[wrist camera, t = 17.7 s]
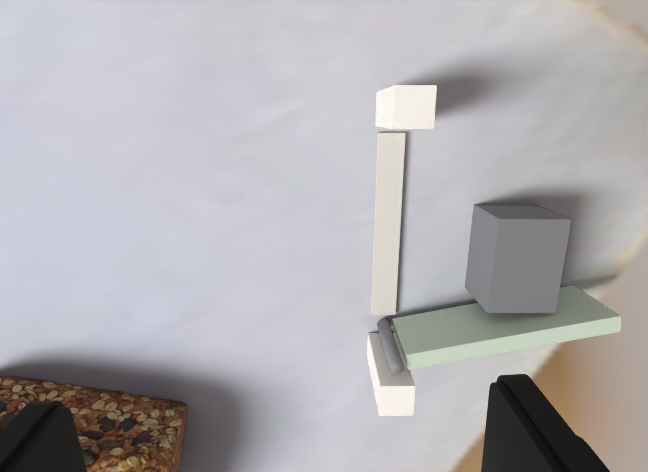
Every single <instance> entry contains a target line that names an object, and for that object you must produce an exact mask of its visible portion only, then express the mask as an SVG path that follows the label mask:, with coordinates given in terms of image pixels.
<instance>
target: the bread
mask: <svg viewBox="0 0 648 472" xmlns="http://www.w3.org/2000/svg"><path fill="white" fill-rule="evenodd" d="M54 400H58V401H61V402H62V403H63V405H64V407H68V408H69V409H70V410H71V412H72V416H73V420H74V424H75V427H76V431H77V435H78V439H79V442H80V446H81V450H82V454H83V457H84V461H85V465H86V469H87V472H179V467H180V462H181V454H182V446H183V438H184V433H185V425H186V416H187V405H185V404H183V403H182V402H178V401H173V400H167V401H165V400H161V399H155V398H149V397H147V396H142V395H138V396H133V395H131V394H127V393H124V392H119V391H115V392H109V391H108V390H99V389H95V388H87V387H85V386H73V385H70V384H62V385H59V386H58V385H56V384H54V383H53V382H49V381H40V380H34V379H27V378H16V377H2V378H0V433H1V432H2V430H3V429H4V428H5V427H6V426H7V425H8V424H9V423H10V422H11V421H12V419H13V418H14V417H15V416H16V415H17V414H18V413H19V412H20V411H21V410H22V408H23V407H24V406H25V405H27V404H28V403H30V402H37V401H54Z"/></svg>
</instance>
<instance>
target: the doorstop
mask: <svg viewBox="0 0 648 472" xmlns="http://www.w3.org/2000/svg"><path fill="white" fill-rule="evenodd" d="M571 221H572V219H569V218H567V217H565V216H562V215H560V214H557V213H555V212H552V211H550V210H547V209H545V208H543V207H540V206H538V205H474V208H473V217H472V227H471V236H470V245H469V254H468V264H467V273H466V282H465V288H466V289H467V290H468V291H469V292H470V293H471V295H472V296H473V297H474V298H475V299H476V300H477V302H478V303H479V304H480V305H481V306H482V307H483V309H484V310H485V311H486V312H487V313H556V308H557V302H558V296H559V290H560V285H561V279H562V273H563V267H564V261H565V256H566V250H567V244H568V238H569V232H570V227H571Z"/></svg>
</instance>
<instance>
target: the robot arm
mask: <svg viewBox="0 0 648 472" xmlns="http://www.w3.org/2000/svg"><path fill="white" fill-rule="evenodd" d="M0 472H87V469H86V465H85V461H84V457H83V454H82V450H81V446H80V442H79V439H78V435H77V431H76V427H75V424H74V420H73V416H72V412H71V410H70V409H69V408H68V407H64V405H63V403H62V402H61V401H58V400H54V401H37V402H30V403H28V404H27V405H25V406H24V407H23V408H22V410H21V411H20V412H19V413H18V414H17V415H16V416H15V417H14V418H13V419H12V421H11V422H10V423H9V424H8V425H7V426H6V427H5V428H4V429H3V430H2V432H1V433H0ZM481 472H610V471H609V470H608V468H607V467H606V466H605V465H604V464H603V462H602V461H601V460H600V459H599V457H598V456H597V455H596V454H595V452H594V451H593V450H592V449H591V448H590V446H589V445H588V444H587V443H586V442H585V441H584V440H583V439H582V438H581V437H579V436H577V435H575V433H574V432H573V431H572V430H571V428H570V427H569V426H568V425H567V423H566V422H565V421H564V420H563V418H562V417H561V416H560V415H559V413H558V412H557V411H556V410H555V408H554V407H553V406H552V405H551V403H550V402H549V401H548V400H547V398H546V397H545V396H544V395H543V393H542V392H541V391H540V390H539V388H538V387H537V386H536V385H535V383H534V382H533V381H532V380H531V378H530V377H529V376H528V375H526V374H516V375H501V376H499V377H498V379H497V382H494V383H491V385H490V390H489V400H488V410H487V419H486V429H485V439H484V449H483V459H482V470H481Z"/></svg>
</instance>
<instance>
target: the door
mask: <svg viewBox="0 0 648 472" xmlns="http://www.w3.org/2000/svg"><path fill="white" fill-rule="evenodd" d="M392 320H393V325H394V331H395V334H396V337H397V340H398V343H399V345H400V348H401V351H402V354H403V357H404V359H405V362H406V365H407V368H408V370H409V369H415V368H420V367H426V366H431V365H437V364H442V363H448V362H454V361H459V360H465V359H470V358H476V357H481V356H487V355H492V354H498V353H504V352H509V351H515V350H520V349H526V348H531V347H537V346H542V345H548V344H553V343H559V342H565V341H570V340H576V339H580V338H587V337H592V336H598V335H603V334H609V333H614V332H620V331H621V316H620V315H619V314H617V313H615V312H614V311H612V310H611V309H609V308H608V307H606V306H605V305H603V304H602V303H600V302H599V301H597V300H596V299H594V298H593V297H591V296H590V295H588V294H587V293H585V292H584V291H582V290H581V289H579V288H578V287H576V286H575V285H571V286H565V287H560V290H559V296H558V302H557V308H556V313H487V312H486V311H485V310H484V309H483V307H482V306H481V305H480V304H479V303H474V304H468V305H463V306H457V307H452V308H447V309H441V310H436V311H430V312H425V313H420V314H414V315H409V316H403V317H398V318H393V319H392ZM377 326H378V330H379V333H380V337H381V340H382V344H383V347H384V351H385V354H386V357H387V361H388V364H389V368H390V371H391V372H392V373H394V374H399V373H401V372H402V371H403V370H404V365H403V362H402V359H401V356H400V353H399V350H398V348H397V345H396V342H395V339H394V336H393V333H392V330H391V327H390V324H389V322H388V321H387V320H386V319H381V320H379V321H378V323H377Z"/></svg>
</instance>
